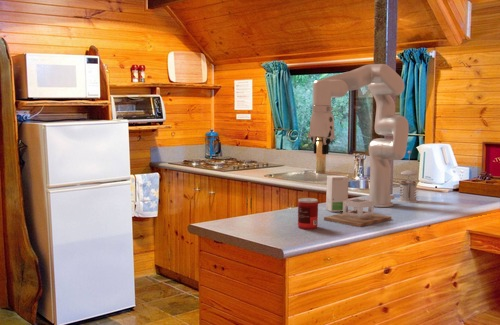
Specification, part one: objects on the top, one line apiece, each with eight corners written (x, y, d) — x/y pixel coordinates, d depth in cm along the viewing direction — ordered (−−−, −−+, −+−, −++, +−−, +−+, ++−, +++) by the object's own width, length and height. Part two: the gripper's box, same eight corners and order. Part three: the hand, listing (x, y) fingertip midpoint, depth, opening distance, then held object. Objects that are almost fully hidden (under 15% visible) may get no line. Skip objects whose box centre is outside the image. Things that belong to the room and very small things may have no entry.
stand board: (356, 213, 264) (356, 210, 264) (391, 219, 251) (391, 216, 251) (324, 219, 249) (324, 217, 248) (359, 226, 236) (359, 223, 235)
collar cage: (355, 213, 256) (356, 198, 255) (373, 217, 249) (373, 200, 249) (342, 216, 250) (342, 200, 249) (360, 219, 243) (360, 203, 242)
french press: (416, 199, 301) (418, 149, 299) (420, 203, 290) (422, 151, 287) (396, 199, 302) (397, 149, 299) (399, 203, 291) (401, 151, 288)
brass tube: (320, 172, 255) (320, 136, 254) (327, 173, 252) (328, 137, 251) (313, 172, 252) (314, 137, 251) (321, 173, 249) (321, 137, 248)
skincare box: (330, 212, 266) (331, 177, 264) (325, 209, 272) (325, 175, 271) (348, 211, 268) (349, 176, 266) (342, 208, 274) (343, 174, 273)
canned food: (315, 225, 238) (316, 197, 237) (318, 229, 230) (319, 201, 229) (296, 225, 238) (297, 197, 237) (299, 229, 230) (299, 201, 229)
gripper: (343, 110, 246) (342, 154, 248) (312, 109, 258) (311, 151, 260) (331, 110, 241) (331, 155, 243) (300, 109, 253) (300, 152, 255)
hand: (321, 153), depth 251 cm, fingers closed on brass tube, 4 cm apart
